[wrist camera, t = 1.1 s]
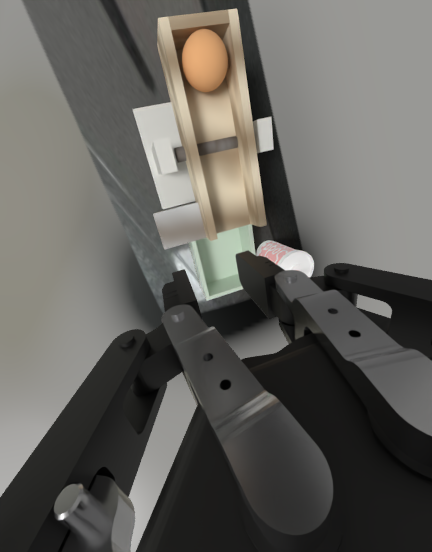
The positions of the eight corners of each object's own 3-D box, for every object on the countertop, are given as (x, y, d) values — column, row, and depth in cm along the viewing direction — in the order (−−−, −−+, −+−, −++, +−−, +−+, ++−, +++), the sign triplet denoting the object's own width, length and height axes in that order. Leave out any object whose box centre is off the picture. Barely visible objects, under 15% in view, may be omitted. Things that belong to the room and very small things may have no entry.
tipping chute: (104, 61, 21) (91, 25, 17) (229, 43, 23) (247, 7, 19) (163, 245, 28) (165, 253, 23) (256, 219, 30) (274, 223, 25)
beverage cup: (278, 230, 40) (336, 255, 28) (285, 259, 43) (341, 292, 31) (248, 245, 40) (293, 277, 27) (257, 273, 43) (302, 313, 30)
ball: (177, 72, 22) (174, 18, 18) (216, 66, 22) (221, 12, 18) (190, 106, 21) (189, 57, 17) (230, 99, 22) (238, 50, 18)
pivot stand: (133, 111, 28) (126, 82, 19) (237, 92, 30) (274, 58, 21) (162, 208, 33) (167, 220, 25) (249, 186, 36) (282, 190, 27)
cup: (184, 226, 35) (189, 233, 31) (238, 211, 37) (250, 216, 32) (200, 286, 40) (206, 300, 36) (247, 272, 42) (259, 283, 37)
